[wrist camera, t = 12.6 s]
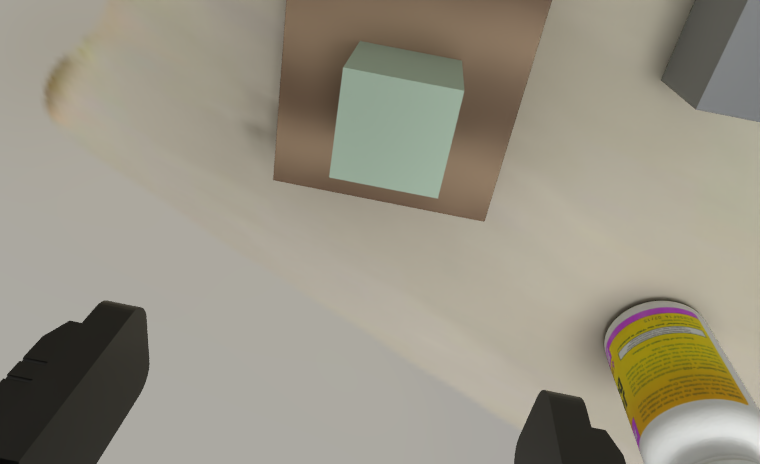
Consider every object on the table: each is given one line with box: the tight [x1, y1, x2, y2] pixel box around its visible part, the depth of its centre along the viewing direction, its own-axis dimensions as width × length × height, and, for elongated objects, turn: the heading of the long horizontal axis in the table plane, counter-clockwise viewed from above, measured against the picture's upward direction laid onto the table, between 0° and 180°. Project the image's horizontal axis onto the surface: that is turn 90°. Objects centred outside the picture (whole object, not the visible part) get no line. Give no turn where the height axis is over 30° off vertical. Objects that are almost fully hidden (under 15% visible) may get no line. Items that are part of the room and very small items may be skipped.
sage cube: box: [329, 41, 464, 199], centre depth 26 cm, size 5×5×5 cm
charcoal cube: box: [661, 0, 760, 122], centre depth 26 cm, size 5×5×5 cm
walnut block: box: [273, 0, 552, 221], centre depth 30 cm, size 12×12×4 cm
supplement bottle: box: [604, 301, 760, 464], centre depth 33 cm, size 7×7×13 cm
